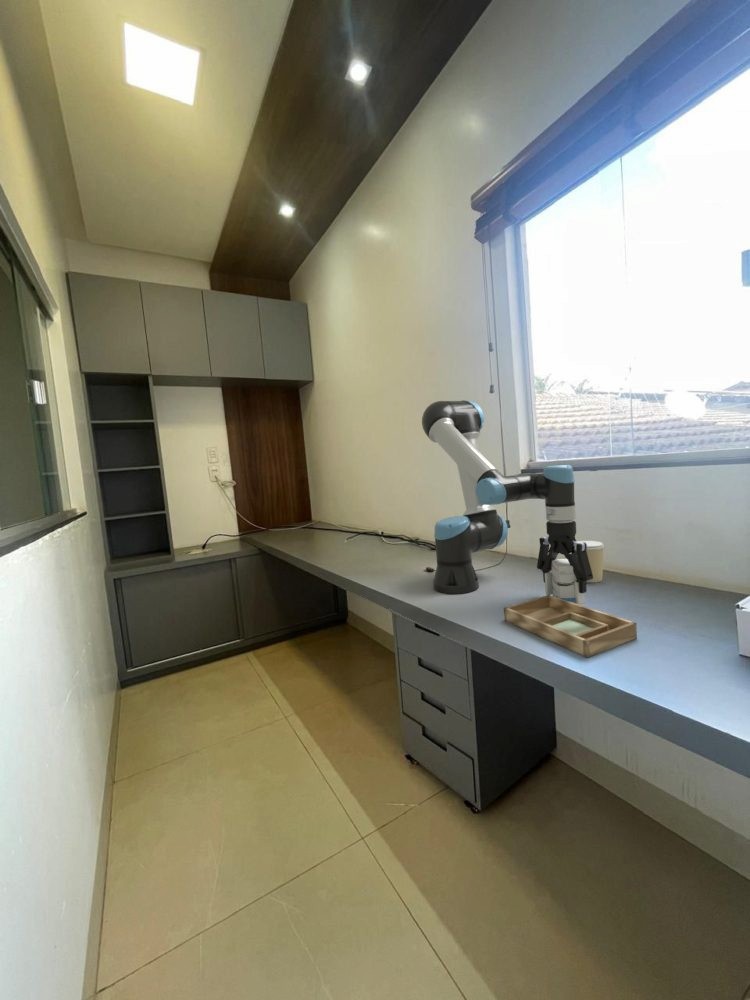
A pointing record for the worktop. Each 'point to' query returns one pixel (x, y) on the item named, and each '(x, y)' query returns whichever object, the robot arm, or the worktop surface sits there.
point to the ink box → (563, 580)
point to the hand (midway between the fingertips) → (564, 598)
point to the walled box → (571, 625)
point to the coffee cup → (595, 559)
